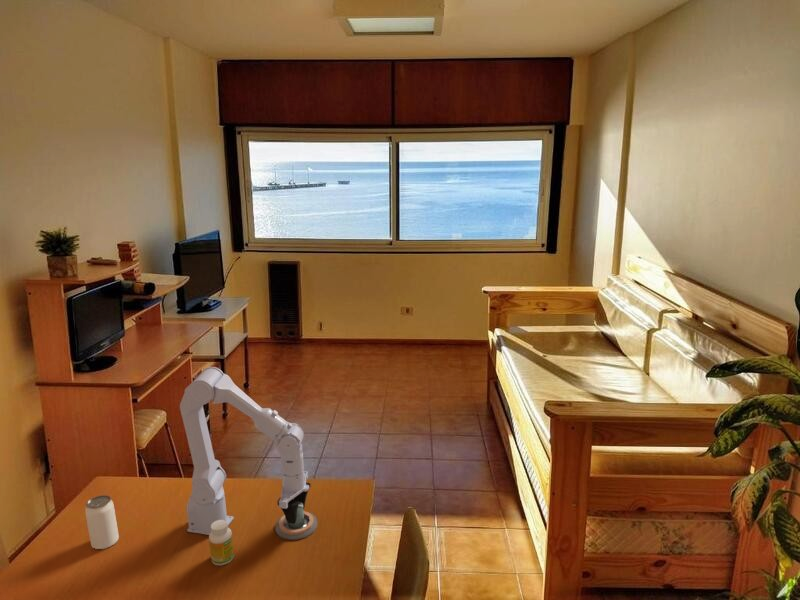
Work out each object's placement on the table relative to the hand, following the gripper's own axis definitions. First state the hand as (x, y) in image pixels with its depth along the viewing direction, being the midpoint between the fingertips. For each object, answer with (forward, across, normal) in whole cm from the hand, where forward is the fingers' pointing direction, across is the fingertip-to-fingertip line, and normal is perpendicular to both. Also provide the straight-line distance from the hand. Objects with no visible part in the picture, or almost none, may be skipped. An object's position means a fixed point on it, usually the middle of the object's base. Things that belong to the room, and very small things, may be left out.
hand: (295, 515), depth 154 cm
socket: (+3, 0, 0) cm, 3 cm away
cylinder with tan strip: (+2, 0, 0) cm, 2 cm away
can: (+3, -16, +46) cm, 49 cm away
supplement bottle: (+3, -16, +13) cm, 21 cm away
